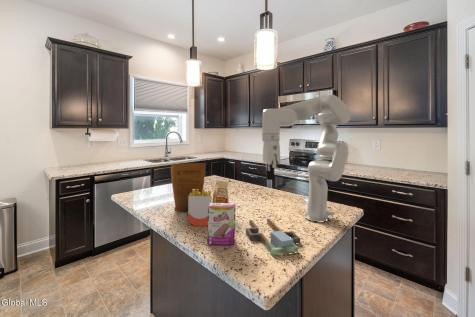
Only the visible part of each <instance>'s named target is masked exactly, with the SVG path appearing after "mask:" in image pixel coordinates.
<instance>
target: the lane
mask: <svg viewBox="0 0 475 317" xmlns="http://www.w3.org/2000/svg"><path fill="white" fill-rule="evenodd" d="M266 224H267V225H268V226H269V228H270V229H271V230H272V232H275V231H282V229H280V228H279V227H278V226H277V225H276V224H275V222H273V221H272V220H271V219H270V218H267V219H266ZM259 229H260V228H259V227H258V225H257V224H256V223H255V222H254V221H253V219H249V227H246V228H245V235H246V237H247V238H248V240H249V241H260V242H261V243H262V244H263V245H264V248H266V250H267V252H268V253H269V252H270V253H269V254H270V256H272V257H276V256H275V255H279V256H282V255H281V254H289V253H295V252H298V253H299V246H298V245H295V244H296V243H300V244H301V237H300V236H298V235H297V234H296V233H295V232H294V231H283V232H284V233H285V234H287V235H288V236H289V237H291V238H292V239H293V246H290V247H279V248H275V247H274V246H273V245H272V244H271V243H270V242H271V241H270V240H269V239H268V238H267V237H266V235H265V234H264V233H263V232H259ZM289 255H290V254H289Z"/></svg>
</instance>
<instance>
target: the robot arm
mask: <svg viewBox="0 0 475 317" xmlns="http://www.w3.org/2000/svg"><path fill="white" fill-rule="evenodd" d="M315 116H317V119H318V122H319V124H320V127H321V136H320V139H319V142H318V144H317V148H316V156H317V157H318V158H319V160H318V159H317V160H316V159H315V160H312V161H310V162H309V163H308V166H307V174H308V195H307V196H308V199H307V213H305V214H304V216H305V217H304V218H307V219H309V220H313V221H326V219H327V220H328V217H329V216H335V211H332V210H331V211H330V210H327V206H328V205H327V204H328V203H327V202H328V192H329V191H328V190H329V188H328V187H329V186H328V183H327V181H330V182H338V181H339V180H340V179H341V178H342V176H343V173H344V170H345V166H346V163H347V160H348V156H349V147H348V145H347V143H344V142H341V141H338V139H339V131H338V129H337V127H336V126H335V125H341V124H342V125H343V124H347V123H349V121H350V120H351V119H352V118H351V117H352V113H351V110H350V108H349V106H348V105H346V104H345V103H344V101H343V100H341V99H340V98H339V97H338V96H336V95H335V94H328V95H327V94H326V95H319V96H315V97H311V98H309V99H306V100H302V101H299V102H295V103H293V104H288V105H285V106H282V107H277V108H265V109H263V111H262V124H261V125H262V126H261V127H262V129H261V131H262V132H261V133H262V136H261V141H262V142H263V144H262V145H263V146H262V161H263V162H264V164H265V165H264V166H265V170H266V171H265V175H266V176H265V179H266V180H268V181H269V180H270V181H272V180H273V181H274V180H275V170H276V168H277V165H280V164H281V146H280V140H281V138H280V136H281V135H280V133H281V132H280V131H281V127H290V126H291V127H292V126H293V125H294V124H295V123H297V121H302V120H307V119H310V118H313V117H315ZM321 159H322V160H321ZM328 160H329V161H328ZM307 219H306V220H307ZM309 220H308V221H309ZM313 221H312V222H313Z"/></svg>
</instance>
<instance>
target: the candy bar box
mask: <svg viewBox="0 0 475 317" xmlns="http://www.w3.org/2000/svg"><path fill="white" fill-rule="evenodd" d="M236 206H237V205H236V203H234V202H229V203H209V205H208V224H207V238H206V239H207V246H235V240H236V239H235V238H236V234H235V232H236V208H237V207H236Z"/></svg>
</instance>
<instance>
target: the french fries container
mask: <svg viewBox="0 0 475 317" xmlns="http://www.w3.org/2000/svg"><path fill="white" fill-rule="evenodd" d="M198 190H199V189H197V191H196V189H192V193H190V194H189V196H188V212H187V213H188V215H187V216H188V222H189V223H190V224H191V225H193V226H194V227H206V226H208V205H209V203H212V200H213V197H212V194H211V192H212V190H210V189H209V190H206V191H205V188H203V190H202V195H201V192H198ZM195 191H196V194H195ZM207 191H208V192H207Z"/></svg>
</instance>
